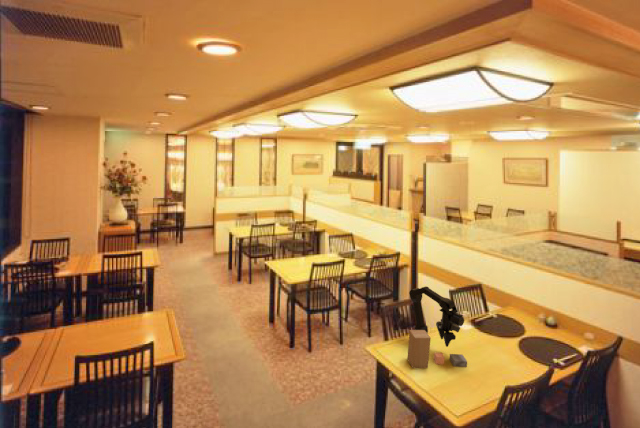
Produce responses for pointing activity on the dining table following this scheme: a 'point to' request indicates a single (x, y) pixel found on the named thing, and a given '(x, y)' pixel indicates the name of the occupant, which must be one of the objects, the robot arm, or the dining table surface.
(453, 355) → the charcoal plinth
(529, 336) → the dining table surface
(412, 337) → the wooden block
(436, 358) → the terracotta cube
